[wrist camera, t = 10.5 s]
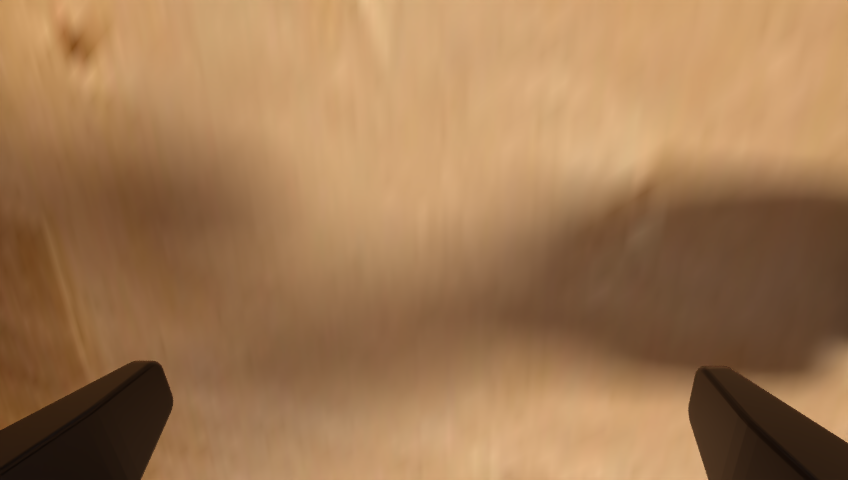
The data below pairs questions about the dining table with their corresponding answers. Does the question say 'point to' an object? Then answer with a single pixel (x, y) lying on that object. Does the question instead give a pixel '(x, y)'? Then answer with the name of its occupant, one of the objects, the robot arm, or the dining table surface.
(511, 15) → the dining table surface
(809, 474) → the robot arm
